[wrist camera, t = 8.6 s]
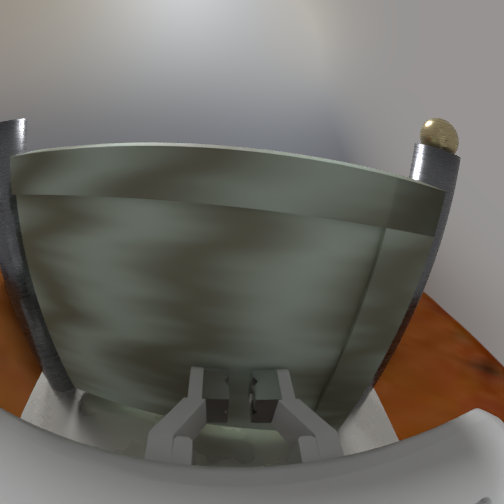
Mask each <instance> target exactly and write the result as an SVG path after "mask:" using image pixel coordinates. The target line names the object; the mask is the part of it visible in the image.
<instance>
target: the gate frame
mask: <svg viewBox="0 0 504 504" xmlns="http://www.w3.org/2000/svg"><path fill="white" fill-rule="evenodd" d="M26 134H27V119H16V120H10V121H5V122H0V268H1V272H2V275H3V279H4V282H5V285H6V289H7V292H8V295H9V297H10V300H11V303H12V306H13V309H14V311H15V314H16V316H17V319H18V321H19V324H20V326H21V329H22V331H23V333H24V336H25V338H26V340H27V342H28V344H29V346H30V349H31V351H32V353H33V355H34V357H35V359H36V361H37V363H38V365H39V366H40V368H41V370H42V373H41V375H40V377H39V379H38V381H37V383H36V385H35V387H34V389H33V391H32V393H31V395H30V398H29V400H28V402H27V404H26V406H25V409H24V411H23V413H22V415H21V419H23V420H25V421H27V422H29V423H31V424H34V425H36V426H38V427H40V428H43V429H45V430H47V431H50V432H52V433H55V434H57V435H60V436H63V437H66V438H68V439H71V440H74V441H77V442H80V443H83V444H86V445H89V446H93V447H96V448H100V449H103V450H107V451H111V452H115V453H119V454H124V455H128V456H133V457H138V458H143V459H144V458H145V452H146V446H147V440H148V434H149V431H150V430H151V429H152V428H153V427H154V426H155V425H156V424H157V423H158V422H159V421H160V420H161V419H162V418H163V417H164V415H160V414H156V413H152V412H148V411H144V410H140V409H136V408H133V407H129V406H126V405H123V404H120V403H116V402H113V401H110V400H107V399H104V398H101V397H99V396H96V395H93V394H90V393H88V392H85V391H82V390H80V389H77V388H75V387H74V385H73V384H72V382H71V380H70V378H69V376H68V374H67V372H66V370H65V368H64V366H63V363H62V361H61V359H60V357H59V355H58V352H57V350H56V348H55V345H54V343H53V341H52V338H51V336H50V333H49V331H48V328H47V325H46V323H45V320H44V317H43V314H42V312H41V309H40V306H39V303H38V299H37V296H36V293H35V290H34V286H33V283H32V279H31V275H30V271H29V267H28V263H27V259H26V255H25V250H24V245H23V240H22V234H21V229H20V222H19V215H18V208H17V199H16V195H12V188H11V174H10V157H11V156H15V155H19V154H23V153H26ZM420 139H421V143H422V144H417V143H416V144H415V146H414V153H413V159H412V165H411V170H410V176H409V178H412V179H415V180H418V181H421V182H424V183H426V184H429V185H431V186H434V187H436V188H439V189H441V190H443V191H446V193H445V198H444V202H443V206H442V210H441V214H440V218H439V222H438V225H437V229H436V232H435V236H434V239H433V242H432V245H431V248H430V252H429V255H428V258H427V261H426V263H425V266H424V269H423V272H422V275H421V277H420V280H419V282H418V285H417V288H416V290H415V293H414V295H413V297H412V300H411V302H410V305H409V307H408V309H407V312H406V314H405V316H404V318H403V320H402V323H401V325H400V327H399V329H398V331H397V333H396V335H395V337H394V339H393V341H392V343H391V345H390V347H389V349H388V351H387V353H386V355H385V357H384V358H383V360H382V362H381V364H380V366H379V368H378V369H377V371H376V373H375V375H374V376H373V378H372V380H371V381H370V383H369V385H368V386H367V388H366V390H365V391H364V393H363V394H362V396H361V398H360V399H359V401H358V402H357V404H356V405H355V407H354V408H353V410H352V411H351V413H350V414H349V416H348V417H347V419H346V420H345V422H344V423H343V424H342V426H341V427H340V429H339V430H338V431H337V433H338V436H339V440H340V443H341V446H342V449H343V452H344V456H346V455H350V454H355V453H359V452H363V451H367V450H371V449H375V448H378V447H382V446H385V445H388V444H392V443H395V442H398V441H399V440H398V438H397V436H396V434H395V431H394V429H393V427H392V425H391V423H390V421H389V419H388V417H387V414H386V412H385V410H384V408H383V406H382V404H381V402H380V400H379V398H378V396H377V394H376V392H375V390H374V386H375V384H376V383H377V381H378V380H379V378H380V376H381V375H382V373H383V371H384V369H385V368H386V366H387V364H388V362H389V361H390V359H391V357H392V355H393V353H394V352H395V350H396V348H397V346H398V344H399V342H400V340H401V338H402V336H403V334H404V332H405V330H406V328H407V326H408V324H409V322H410V320H411V318H412V315H413V313H414V311H415V309H416V307H417V304H418V302H419V300H420V297H421V295H422V293H423V290H424V287H425V285H426V282H427V280H428V277H429V274H430V272H431V269H432V266H433V264H434V261H435V258H436V255H437V252H438V249H439V246H440V243H441V240H442V236H443V233H444V229H445V225H446V223H447V218H448V215H449V211H450V207H451V203H452V199H453V195H454V190H455V185H456V180H457V174H458V170H459V164H460V157H458V156H457V155H454V154H455V153H456V151H457V149H458V144H459V140H458V135H457V132H456V130H455V129H454V127H453V126H452V125H451V124H450V123H449V122H447V121H446V120H444V119H440V118H433V119H430V120H428V121H427V122H425V123H424V125H423V126H422V129H421V132H420ZM193 448H194V454H195V459H196V465H198V466H215V467H258V466H276V465H286V464H285V461H286V459H287V458H288V456H289V454H290V453H291V451H292V448H291V447H290V445H289V444H288V443H287V442H286V441H285V440H284V439H283V437H282V436H281V435H280V434H279V433H278V432H277V431H276V430H258V429H246V428H236V427H227V426H219V425H212V424H206V425H205V426H204V428H203V429H202V430H201V432H200V433H199V434H198V435H197V437H196V438H195V439H194V441H193Z"/></svg>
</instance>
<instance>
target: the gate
mask: <svg viewBox="0 0 504 504" xmlns="http://www.w3.org/2000/svg"><path fill="white" fill-rule="evenodd" d="M10 174H11V188H12V195H16V199H17V208H18V215H19V222H20V229H21V234H22V240H23V245H24V250H25V255H26V259H27V263H28V267H29V271H30V275H31V279H32V283H33V286H34V290H35V293H36V296H37V299H38V303H39V306H40V309H41V312H42V314H43V317H44V320H45V323H46V325H47V328H48V331H49V333H50V336H51V338H52V341H53V343H54V345H55V348H56V350H57V352H58V355H59V357H60V359H61V361H62V363H63V366H64V368H65V370H66V372H67V374H68V376H69V378H70V380H71V382H72V384H73V385H74V387H75V388H77V389H80V390H82V391H85V392H88V393H90V394H93V395H96V396H99V397H101V398H104V399H107V400H110V401H113V402H116V403H120V404H123V405H126V406H129V407H133V408H136V409H140V410H144V411H148V412H152V413H156V414H160V415H164V416H166V415H167V414H168V413H169V412H170V411H171V410H172V409H173V408H174V407H175V406H176V405H177V404H178V403H179V402H180V401H181V400H182V399H183V398H184V397H186V398H188V388H189V379H190V371H191V367H192V366H193V367H206V368H219V369H228V372H229V379H228V385H229V407H228V419H227V423H214V422H207V424H212V425H219V426H227V427H236V428H246V429H258V430H276V429H275V428H274V427H273V426H272V424H271V423H251V420H250V405H251V404H250V403H249V397H248V389H249V381H251V377H250V374H251V370H252V369H275V370H276V369H288V370H289V373H290V377H291V381H292V385H293V390H294V394H295V398H296V399H300V400H301V401H302V402H303V403H304V404H306V405H307V406H308V407H309V408H310V409H311V410H312V411H314V412H315V413H316V414H317V415H318V416H319V417H321V418H322V419H323V420H324V421H325V422H327V423H328V424H329V425H330V426H331V427H333V428H334V429H335V430H336V431H338V430H339V429H340V427H341V426H342V424H343V423H344V422H345V420H346V419H347V417H348V416H349V414H350V413H351V411H352V410H353V408H354V407H355V405H356V404H357V402H358V401H359V399H360V398H361V396H362V394H363V393H364V391H365V390H366V388H367V386H368V385H369V383H370V381H371V380H372V378H373V376H374V375H375V373H376V371H377V369H378V368H379V366H380V364H381V362H382V360H383V358H384V357H385V355H386V353H387V351H388V349H389V347H390V345H391V343H392V341H393V339H394V337H395V335H396V333H397V331H398V329H399V327H400V325H401V323H402V320H403V318H404V316H405V314H406V312H407V309H408V307H409V305H410V302H411V300H412V297H413V295H414V293H415V290H416V288H417V285H418V282H419V280H420V277H421V275H422V272H423V269H424V266H425V263H426V261H427V258H428V255H429V252H430V248H431V245H432V242H433V239H434V236H435V232H436V229H437V225H438V222H439V218H440V214H441V210H442V206H443V202H444V198H445V193H446V191H443V190H441V189H439V188H436V187H434V186H431V185H429V184H426V183H424V182H421V181H418V180H415V179H412V178H408V177H404V176H401V175H397V174H393V173H389V172H385V171H381V170H377V169H372V168H368V167H364V166H360V165H355V164H350V163H345V162H340V161H335V160H330V159H324V158H319V157H313V156H307V155H300V154H294V153H287V152H280V151H271V150H264V149H255V148H245V147H234V146H222V145H207V144H188V143H114V144H113V143H112V144H95V145H81V146H69V147H59V148H50V149H43V150H37V151H32V152H27V153H23V154H19V155H15V156H11V157H10ZM276 431H277V430H276Z"/></svg>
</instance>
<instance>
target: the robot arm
mask: <svg viewBox="0 0 504 504" xmlns="http://www.w3.org/2000/svg"><path fill="white" fill-rule="evenodd" d="M250 377H251V381H249V389H248V397H249V403H250V404H251V405H250V420H251V423H271V424H272V426H273V427H274V428H275V429H276V430H277V432H278V433H279V434H280V435H281V436H282V437H283V439H284V440H285V441H286V442H287V443H288V444H289V445H290V447H291V448H292V451H291V453H290V454H289V456H288V458H287V459H286V461H285V464H286V465H276V466H258V467H215V466H198V465H196V459H195V454H194V448H193V441H194V439H195V438H196V437H197V435H198V434H199V433H200V432H201V430H202V429H203V428H204V426H205V425H206V424H207V422H214V423H227V419H228V407H229V385H228V379H229V372H228V369H219V368H206V367H193V366H192V367H191V371H190V379H189V388H188V398H186V397H184V398H183V399H182V400H181V401H180V402H179V403H178V404H177V405H176V406H175V407H174V408H173V409H172V410H171V411H170V412H169V413H168V414H167V415H166V416H164V417H163V418H162V419H161V420H160V421H159V422H158V423H157V424H156V425H155V426H154V427H153V428H152V429H151V430H150V431H149V434H148V440H147V446H146V452H145V458H144V459H143V458H138V457H133V456H128V455H124V454H119V453H115V452H111V451H107V450H103V449H100V448H96V447H93V446H89V445H86V444H83V443H80V442H77V441H74V440H71V439H68V438H66V437H63V436H60V435H57V434H55V433H52V432H50V431H47V430H45V429H43V428H40V427H38V426H36V425H34V424H31V423H29V422H27V421H25V420H23V419H21V418H19V417H17V416H15V415H13V414H11V413H9V412H7V411H5V410H4V409H2V408H0V504H504V423H503V422H502V421H501V420H500V419H499V418H498V417H496V416H494V415H492V414H490V413H488V412H486V411H484V410H481V409H473V410H471V411H469V412H467V413H465V414H463V415H461V416H459V417H457V418H455V419H453V420H451V421H449V422H447V423H445V424H442V425H440V426H438V427H435V428H433V429H430V430H428V431H426V432H423V433H420V434H418V435H415V436H412V437H410V438H407V439H404V440H401V441H398V442H395V443H392V444H388V445H385V446H382V447H378V448H375V449H371V450H367V451H363V452H359V453H355V454H350V455H346V456H344V452H343V449H342V446H341V443H340V440H339V436H338V433H337V431H336V430H335V429H334V428H333V427H331V426H330V425H329V424H328V423H327V422H325V421H324V420H323V419H322V418H321V417H319V416H318V415H317V414H316V413H315V412H314V411H312V410H311V409H310V408H309V407H308V406H307V405H306V404H304V403H303V402H302V401H301V400H300V399H296V398H295V394H294V390H293V385H292V381H291V377H290V373H289V370H288V369H276V370H275V369H252V370H251V374H250Z"/></svg>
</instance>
